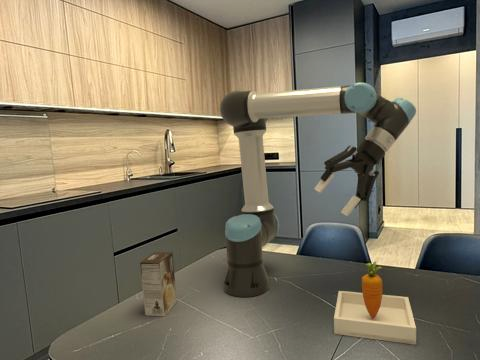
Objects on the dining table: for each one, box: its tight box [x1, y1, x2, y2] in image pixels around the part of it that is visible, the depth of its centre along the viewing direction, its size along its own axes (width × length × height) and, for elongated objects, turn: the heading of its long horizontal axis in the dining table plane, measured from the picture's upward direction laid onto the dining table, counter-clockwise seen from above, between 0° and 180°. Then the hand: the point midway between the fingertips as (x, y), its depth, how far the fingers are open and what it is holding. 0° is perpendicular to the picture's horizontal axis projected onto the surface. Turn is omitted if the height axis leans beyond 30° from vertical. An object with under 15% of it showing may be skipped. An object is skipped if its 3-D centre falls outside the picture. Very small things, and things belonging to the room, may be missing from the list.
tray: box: [333, 290, 417, 346], centre depth 89 cm, size 18×16×4 cm
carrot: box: [361, 261, 383, 318], centre depth 88 cm, size 5×5×15 cm
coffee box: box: [139, 251, 178, 317], centre depth 102 cm, size 9×6×16 cm
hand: (331, 203), depth 102 cm, fingers open, 13 cm apart
